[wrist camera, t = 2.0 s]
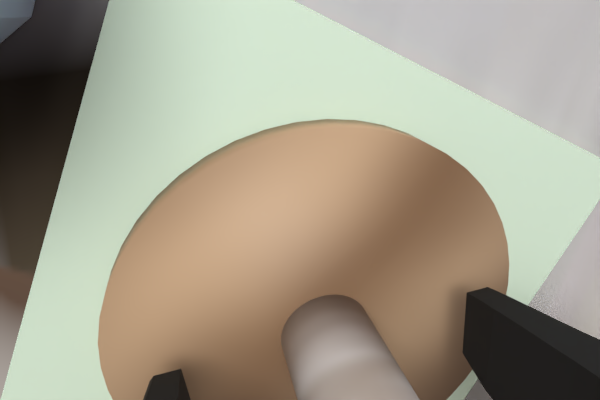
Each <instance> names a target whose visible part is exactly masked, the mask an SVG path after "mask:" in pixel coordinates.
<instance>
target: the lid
mask: <svg viewBox="0 0 600 400" xmlns="http://www.w3.org/2000/svg"><path fill="white" fill-rule="evenodd" d="M508 277H509V255H508V243H507V239H506V235H505V231H504V227H503V223H502V221H501V218H500V216H499V214H498V211H497V209H496V207H495V205H494V203H493V201H492V200H491V198H490V197H489V195H488V194H487V192H486V190H485V189H484V187H483V186H482V185H481V184H480V183H479V181H478V180H477V179H476V178H475V177H474V176H473V175H472V174H471V173H470V172H469V171H468V170H467V169H466V168H465V167H464V166H462V165H461V164H460V163H458V162H457V161H456V160H454V159H453V158H452V157H450V156H449V155H448V154H446V153H444V152H442V151H441V150H439V149H437V148H435V147H433V146H431V145H429V144H428V143H426V142H424V141H422V140H420V139H418V138H416V137H414V136H412V135H410V134H408V133H406V132H403V131H400V130H397V129H394V128H391V127H388V126H385V125H381V124H375V123H370V122H364V121H358V120H341V119H321V120H312V121H302V122H294V123H290V124H286V125H282V126H277V127H273V128H269V129H265V130H262V131H260V132H257V133H254V134H252V135H249V136H246V137H244V138H241V139H238V140H236V141H234V142H232V143H230V144H228V145H226V146H224V147H222V148H220V149H218V150H217V151H215V152H213V153H211V154H209V155H207V156H205V157H204V158H203V159H201V160H200V161H198V162H197V163H196V164H194V165H193V166H191V167H190V168H188V169H187V170H186V171H184V172H183V173H181V174H180V175H179V176H178V177H177V178H176V179H174V180H173V181H172V182H171V183H170V184H169V185H168V186H167V187H166V188H165V189H164V190H163V191H162V192H160V193H159V194H158V195H157V196H156V197H155V199H154V200H153V201H152V202H151V203H150V205H149V206H148V207H147V208H146V210H145V211H144V212H143V213H142V214H141V216H140V217H139V218H138V219H137V221H136V222H135V224H134V226H133V227H132V229H131V231H130V232H129V234H128V236H127V237H126V239H125V241H124V242H123V244H122V246H121V248H120V251H119V253H118V255H117V258H116V260H115V263H114V265H113V267H112V270H111V273H110V277H109V280H108V284H107V288H106V291H105V296H104V300H103V304H102V308H101V313H100V317H99V332H98V349H99V358H100V366H101V370H102V373H103V377H104V380H105V383H106V386H107V389H108V392H109V393H110V395H111V397H112V399H113V400H143V398H144V396H145V393H146V390H147V387H148V384H149V382H150V380H151V379H152V377H153V376H155V375H159V374H162V373H166V372H170V371H174V370H178V369H181V370H182V373H183V376H184V380H185V383H186V386H187V389H188V392H189V396H190V399H191V400H446V399H448V398H449V397H450V396H451V395H452V394H453V392H454V391H455V390H456V389H457V388H458V387H459V386H460V384H461V383H462V382H463V381H464V380H465V379H466V377H467V376H468V375H469V373H470V372H471V371H472V368H471V366H470V365H469V363H468V361H467V360H466V358H465V356H464V355H463V353H462V351H463V337H464V323H465V309H466V294H467V292H471V291H475V290H478V289H482V288H486V287H489V288H491V289H494V290H496V291H498V292H500V293H503V294H505V295H506V292H507V287H508Z"/></svg>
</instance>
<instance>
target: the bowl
mask: <svg viewBox="0 0 600 400" xmlns="http://www.w3.org/2000/svg"><path fill="white" fill-rule="evenodd" d="M34 3H35V0H0V43H1V42H2V41H4V40H5V39H6V38H7V37H8V36H10V35H11V34H12V33H13V32H14V31H15V30H17V29H18V28H19V27H20V26H21V25H22V24H24V23H25V22H26V21H27V20H28V19H29V18H31V17H32V12H33V8H34Z"/></svg>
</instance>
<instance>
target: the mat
mask: <svg viewBox="0 0 600 400" xmlns="http://www.w3.org/2000/svg"><path fill="white" fill-rule="evenodd" d="M321 119H341V120H358V121H364V122H370V123H375V124H381V125H385V126H388V127H391V128H394V129H397V130H400V131H403V132H406V133H408V134H410V135H412V136H414V137H416V138H418V139H420V140H422V141H424V142H426V143H428V144H429V145H431V146H433V147H435V148H437V149H439V150H441V151H442V152H444V153H446V154H448V155H449V156H450V157H452V158H453V159H454V160H456V161H457V162H458V163H460V164H461V165H462V166H464V167H465V168H466V169H467V170H468V171H469V172H470V173H471V174H472V175H473V176H474V177H475V178H476V179H477V180H478V181H479V183H480V184H481V185H482V186H483V187H484V189H485V190H486V192H487V194H488V195H489V197H490V198H491V200H492V201H493V203H494V205H495V207H496V209H497V211H498V214H499V216H500V218H501V221H502V223H503V227H504V231H505V235H506V239H507V243H508V255H509V277H508V287H507V292H506V295H507V296H509V297H511V298H513V299H515V300H517V301H519V302H521V303H523V304H525V305H527V306H528V304H529V303H530V301H531V300H532V298H533V297H534V296H535V294H536V293H537V291H538V290H539V288H540V287H541V285H542V284H543V282H544V281H545V279H546V278H547V276H548V275H549V273H550V272H551V270H552V269H553V268H554V266H555V265H556V263H557V262H558V260H559V259H560V257H561V256H562V254H563V253H564V251H565V250H566V248H567V247H568V245H569V244H570V242H571V241H572V240H573V238H574V237H575V235H576V234H577V232H578V231H579V229H580V228H581V226H582V225H583V223H584V222H585V220H586V219H587V217H588V216H589V214H590V213H591V212H592V210H593V209H594V207H595V206H596V204H597V203H598V201H599V200H600V158H599V157H597V156H595V155H594V154H592V153H590V152H588V151H586V150H584V149H582V148H580V147H578V146H576V145H574V144H572V143H570V142H568V141H566V140H564V139H562V138H560V137H558V136H557V135H555V134H553V133H551V132H549V131H547V130H545V129H543V128H541V127H539V126H537V125H535V124H533V123H531V122H529V121H527V120H525V119H523V118H521V117H520V116H518V115H516V114H514V113H512V112H510V111H508V110H506V109H504V108H502V107H500V106H498V105H496V104H494V103H492V102H490V101H488V100H486V99H484V98H483V97H481V96H479V95H477V94H475V93H473V92H471V91H469V90H467V89H465V88H463V87H461V86H459V85H457V84H455V83H453V82H451V81H449V80H447V79H446V78H444V77H442V76H440V75H438V74H436V73H434V72H432V71H430V70H428V69H426V68H424V67H422V66H420V65H418V64H416V63H414V62H412V61H410V60H409V59H407V58H405V57H403V56H401V55H399V54H397V53H395V52H393V51H391V50H389V49H387V48H385V47H383V46H381V45H379V44H377V43H375V42H373V41H372V40H370V39H368V38H366V37H364V36H362V35H360V34H358V33H356V32H354V31H352V30H350V29H348V28H346V27H344V26H342V25H340V24H338V23H336V22H335V21H333V20H331V19H329V18H327V17H325V16H323V15H321V14H319V13H317V12H315V11H313V10H311V9H309V8H307V7H305V6H303V5H301V4H299V3H298V2H296V1H294V0H109V3H108V7H107V10H106V14H105V18H104V21H103V25H102V29H101V32H100V36H99V40H98V44H97V47H96V51H95V55H94V58H93V62H92V66H91V69H90V73H89V77H88V80H87V84H86V88H85V91H84V95H83V99H82V102H81V106H80V110H79V113H78V117H77V121H76V124H75V128H74V132H73V135H72V139H71V143H70V147H69V150H68V154H67V158H66V161H65V165H64V169H63V172H62V176H61V180H60V183H59V187H58V191H57V194H56V198H55V202H54V205H53V209H52V213H51V216H50V220H49V224H48V227H47V231H46V235H45V238H44V242H43V246H42V250H41V253H40V257H39V261H38V264H37V268H36V272H35V275H34V279H33V283H32V286H31V290H30V294H29V297H28V301H27V305H26V308H25V312H24V316H23V320H22V323H21V327H20V330H19V334H18V338H17V342H16V345H15V349H14V353H13V356H12V360H11V364H10V367H9V371H8V375H7V379H6V382H5V386H4V389H3V393H2V397H1V400H113V399H112V397H111V395H110V393H109V392H108V389H107V386H106V383H105V380H104V377H103V373H102V370H101V366H100V358H99V349H98V332H99V317H100V313H101V308H102V304H103V300H104V296H105V291H106V288H107V284H108V280H109V277H110V273H111V270H112V267H113V265H114V263H115V260H116V258H117V255H118V253H119V251H120V248H121V246H122V244H123V242H124V241H125V239H126V237H127V236H128V234H129V232H130V231H131V229H132V227H133V226H134V224H135V222H136V221H137V219H138V218H139V217H140V216H141V214H142V213H143V212H144V211H145V210H146V208H147V207H148V206H149V205H150V203H151V202H152V201H153V200H154V199H155V197H156V196H157V195H158V194H159V193H160V192H162V191H163V190H164V189H165V188H166V187H167V186H168V185H169V184H170V183H171V182H172V181H173V180H174V179H176V178H177V177H178V176H179V175H180V174H181V173H183V172H184V171H186V170H187V169H188V168H190V167H191V166H193V165H194V164H196V163H197V162H198V161H200V160H201V159H203V158H204V157H205V156H207V155H209V154H211V153H213V152H215V151H217V150H218V149H220V148H222V147H224V146H226V145H228V144H230V143H232V142H234V141H236V140H238V139H241V138H244V137H246V136H249V135H252V134H254V133H257V132H260V131H262V130H265V129H269V128H273V127H277V126H282V125H286V124H290V123H294V122H302V121H312V120H321ZM477 380H478V377H477V376H476V374H475V373H474V371H473V370H472V371H471V372H470V373H469V375H468V376H467V377H466V379H465V380H464V381H463V382H462V383H461V384H460V386H459V387H458V388H457V389H456V390H455V391H454V392H453V394H452V395H451V396H450V397H449V398H448V399H446V400H464V399H465V397H466V396H467V394H468V393H469V391H470V390H471V388H472V387H473V385H474V384H475V382H476V381H477Z"/></svg>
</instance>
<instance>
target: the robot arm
mask: <svg viewBox="0 0 600 400" xmlns="http://www.w3.org/2000/svg"><path fill="white" fill-rule="evenodd" d="M462 353H463V355H464V356H465V358H466V360H467V361H468V363H469V365H470V366H471V368H472V370H473V371H474V373H475V374H476V376H477V377H478V379H479V381H480V382H481V384H482V385H483V387H484V388H485V390H486V391H487V392H488V394H489V395H490V396H491V398H492V399H493V400H600V340H599V339H597V338H595V337H592V336H590V335H588V334H586V333H584V332H581V331H579V330H577V329H575V328H573V327H571V326H569V325H567V324H564V323H562V322H560V321H558V320H556V319H554V318H552V317H550V316H548V315H546V314H544V313H542V312H540V311H538V310H536V309H534V308H531V307H529V306H527V305H525V304H523V303H521V302H519V301H517V300H515V299H513V298H511V297H509V296H507V295H505V294H503V293H500V292H498V291H496V290H494V289H491V288H489V287H486V288H482V289H478V290H475V291H471V292H467V294H466V309H465V323H464V337H463V351H462ZM143 400H191V399H190V396H189V392H188V389H187V386H186V383H185V380H184V376H183V373H182V370H181V369H178V370H174V371H170V372H166V373H162V374H159V375H155V376H153V377H152V379H151V380H150V382H149V384H148V387H147V390H146V393H145V396H144V398H143Z"/></svg>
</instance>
